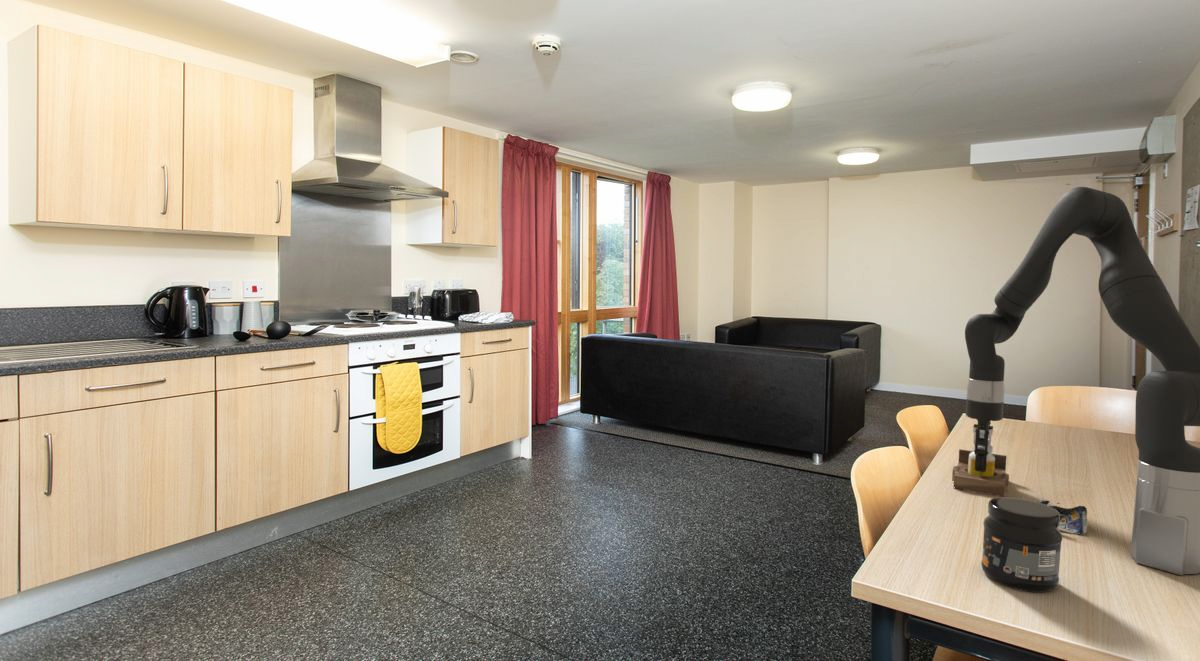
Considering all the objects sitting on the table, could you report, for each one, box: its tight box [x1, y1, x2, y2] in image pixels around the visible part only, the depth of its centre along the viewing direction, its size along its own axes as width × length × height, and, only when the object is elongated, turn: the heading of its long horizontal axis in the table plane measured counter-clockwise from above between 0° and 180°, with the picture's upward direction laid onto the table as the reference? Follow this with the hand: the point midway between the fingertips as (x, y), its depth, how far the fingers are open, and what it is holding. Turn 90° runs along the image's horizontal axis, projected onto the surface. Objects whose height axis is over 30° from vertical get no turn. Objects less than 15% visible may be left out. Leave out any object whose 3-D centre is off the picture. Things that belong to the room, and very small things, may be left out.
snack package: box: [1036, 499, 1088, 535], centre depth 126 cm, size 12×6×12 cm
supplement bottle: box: [968, 443, 995, 476], centre depth 150 cm, size 5×5×10 cm
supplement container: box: [980, 496, 1063, 593], centre depth 101 cm, size 10×10×12 cm
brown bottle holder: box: [951, 448, 1010, 497], centre depth 151 cm, size 15×11×6 cm
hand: (980, 467), depth 150 cm, fingers open, 6 cm apart
